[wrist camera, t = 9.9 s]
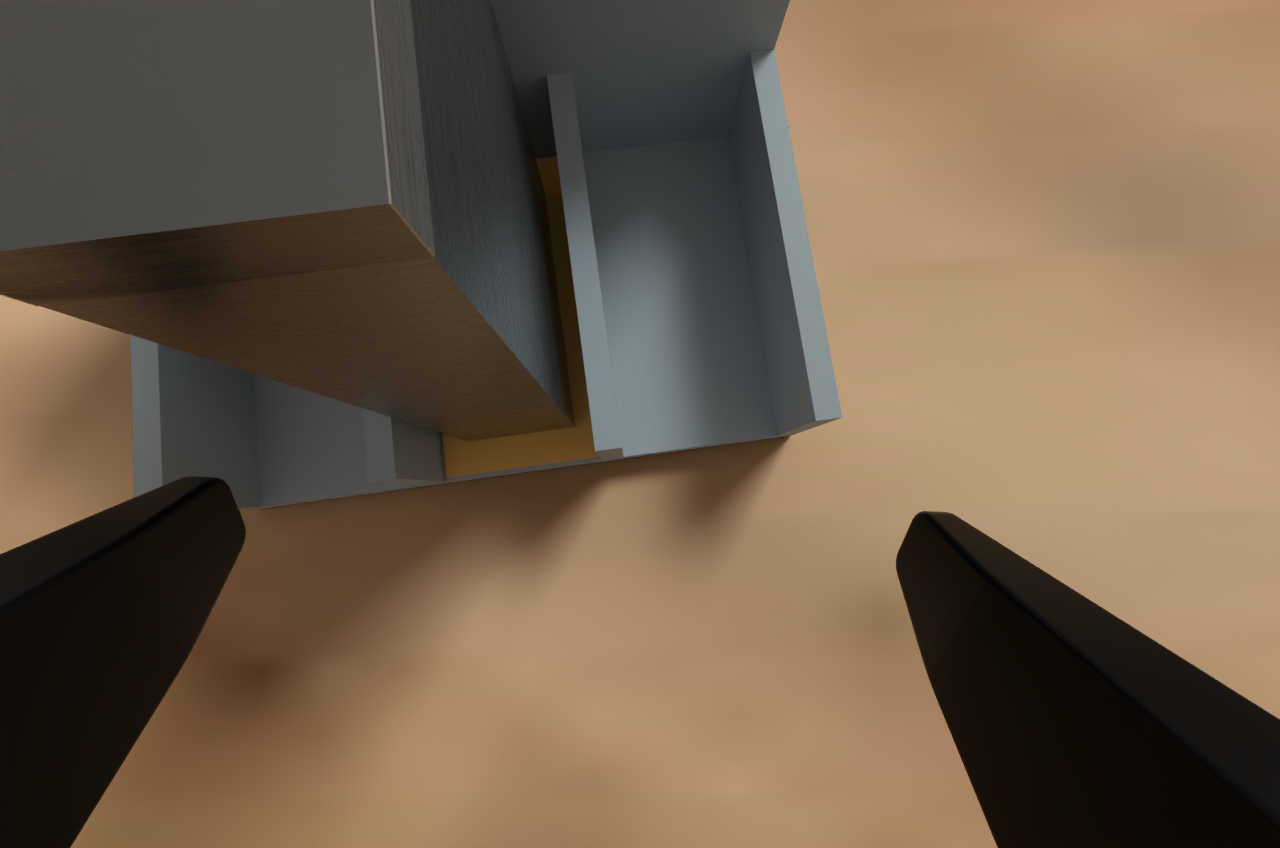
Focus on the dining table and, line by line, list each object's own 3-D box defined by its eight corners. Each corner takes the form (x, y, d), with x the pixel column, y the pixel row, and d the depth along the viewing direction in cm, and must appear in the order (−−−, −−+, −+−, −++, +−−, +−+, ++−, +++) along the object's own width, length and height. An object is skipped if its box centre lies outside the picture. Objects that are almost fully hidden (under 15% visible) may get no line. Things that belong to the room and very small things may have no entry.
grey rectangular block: (575, 426, 15) (391, 203, 4) (467, 441, 15) (-100, 264, 3) (545, 193, 16) (317, -621, 4) (442, 205, 16) (-80, -595, 4)
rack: (790, 435, 16) (1188, 293, 5) (258, 509, 16) (-781, 553, 4) (738, 131, 18) (951, -586, 6) (241, 190, 17) (-604, -469, 5)
